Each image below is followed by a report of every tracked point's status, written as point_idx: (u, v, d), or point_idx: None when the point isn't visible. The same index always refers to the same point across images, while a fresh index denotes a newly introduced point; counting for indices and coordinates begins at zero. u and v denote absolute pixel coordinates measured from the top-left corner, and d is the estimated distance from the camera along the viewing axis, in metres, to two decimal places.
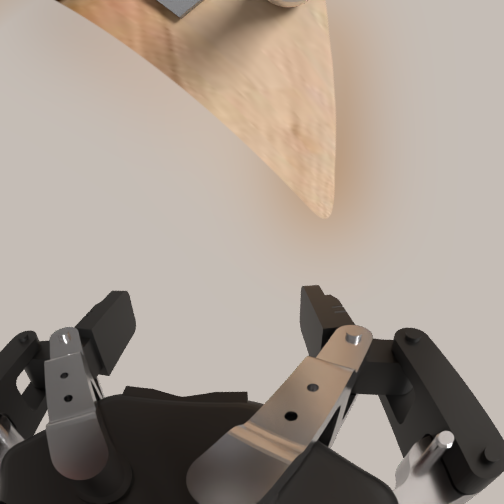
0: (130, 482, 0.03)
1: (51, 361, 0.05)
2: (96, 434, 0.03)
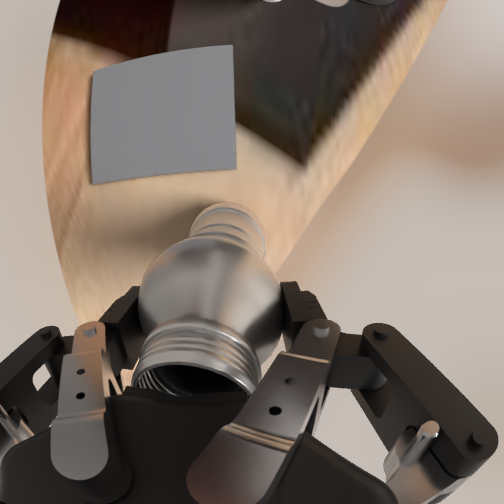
0: (130, 482, 0.03)
1: (70, 355, 0.06)
2: (96, 434, 0.03)
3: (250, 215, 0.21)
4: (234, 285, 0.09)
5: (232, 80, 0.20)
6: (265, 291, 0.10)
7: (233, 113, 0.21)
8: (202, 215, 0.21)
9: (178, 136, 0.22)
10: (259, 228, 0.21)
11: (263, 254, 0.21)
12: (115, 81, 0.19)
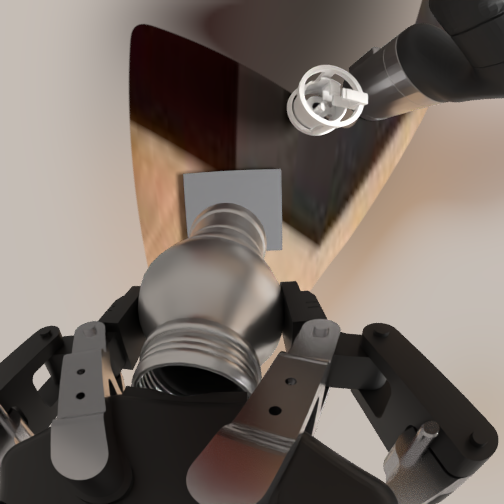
0: (130, 482, 0.03)
1: (70, 355, 0.06)
2: (96, 434, 0.03)
3: (250, 215, 0.21)
4: (235, 286, 0.09)
5: (280, 195, 0.39)
6: (265, 292, 0.10)
7: (281, 217, 0.40)
8: (202, 215, 0.21)
9: None
10: (259, 228, 0.21)
11: (263, 254, 0.21)
12: (202, 186, 0.38)
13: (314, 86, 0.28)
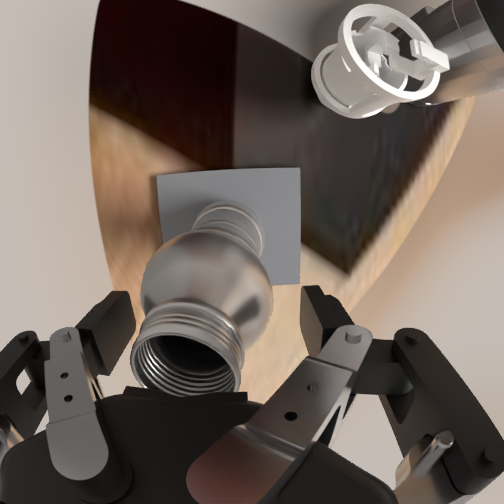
0: (130, 482, 0.03)
1: (51, 361, 0.05)
2: (96, 434, 0.03)
3: (249, 212, 0.22)
4: (224, 273, 0.11)
5: (299, 207, 0.26)
6: (252, 279, 0.11)
7: (299, 238, 0.27)
8: (204, 212, 0.22)
9: None
10: (257, 225, 0.22)
11: (261, 249, 0.22)
12: (184, 193, 0.26)
13: (354, 44, 0.15)
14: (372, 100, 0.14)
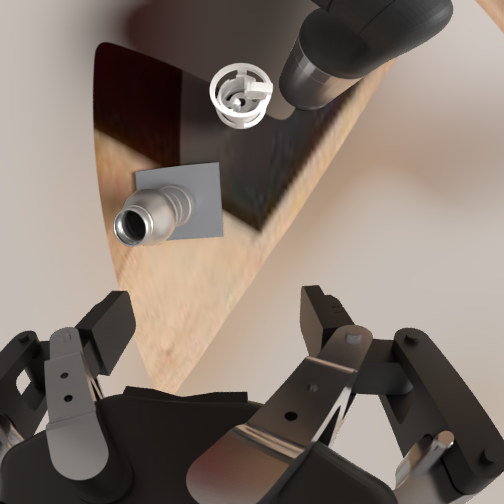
0: (130, 482, 0.03)
1: (51, 361, 0.05)
2: (96, 434, 0.03)
3: (183, 189, 0.38)
4: (151, 200, 0.26)
5: (219, 186, 0.42)
6: (162, 203, 0.27)
7: (220, 206, 0.43)
8: (159, 190, 0.38)
9: (191, 218, 0.43)
10: (187, 195, 0.38)
11: (190, 209, 0.38)
12: (151, 181, 0.41)
13: (237, 84, 0.31)
14: (235, 119, 0.30)
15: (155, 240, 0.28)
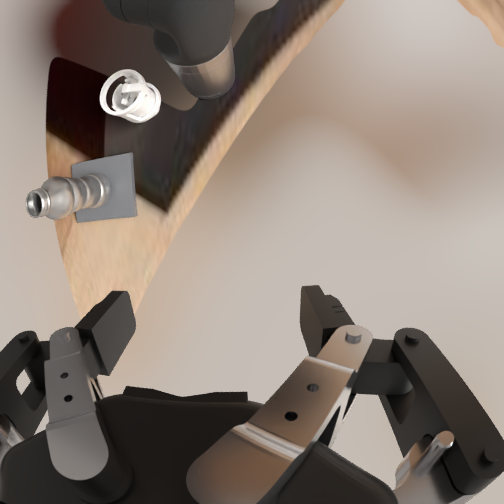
0: (130, 482, 0.03)
1: (51, 361, 0.05)
2: (96, 434, 0.03)
3: (99, 176, 0.41)
4: (53, 184, 0.29)
5: (130, 173, 0.45)
6: (61, 186, 0.30)
7: (132, 190, 0.46)
8: None
9: (111, 202, 0.46)
10: (100, 181, 0.41)
11: (102, 192, 0.41)
12: (82, 172, 0.44)
13: None
14: (122, 116, 0.33)
15: (56, 214, 0.30)
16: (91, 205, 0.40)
